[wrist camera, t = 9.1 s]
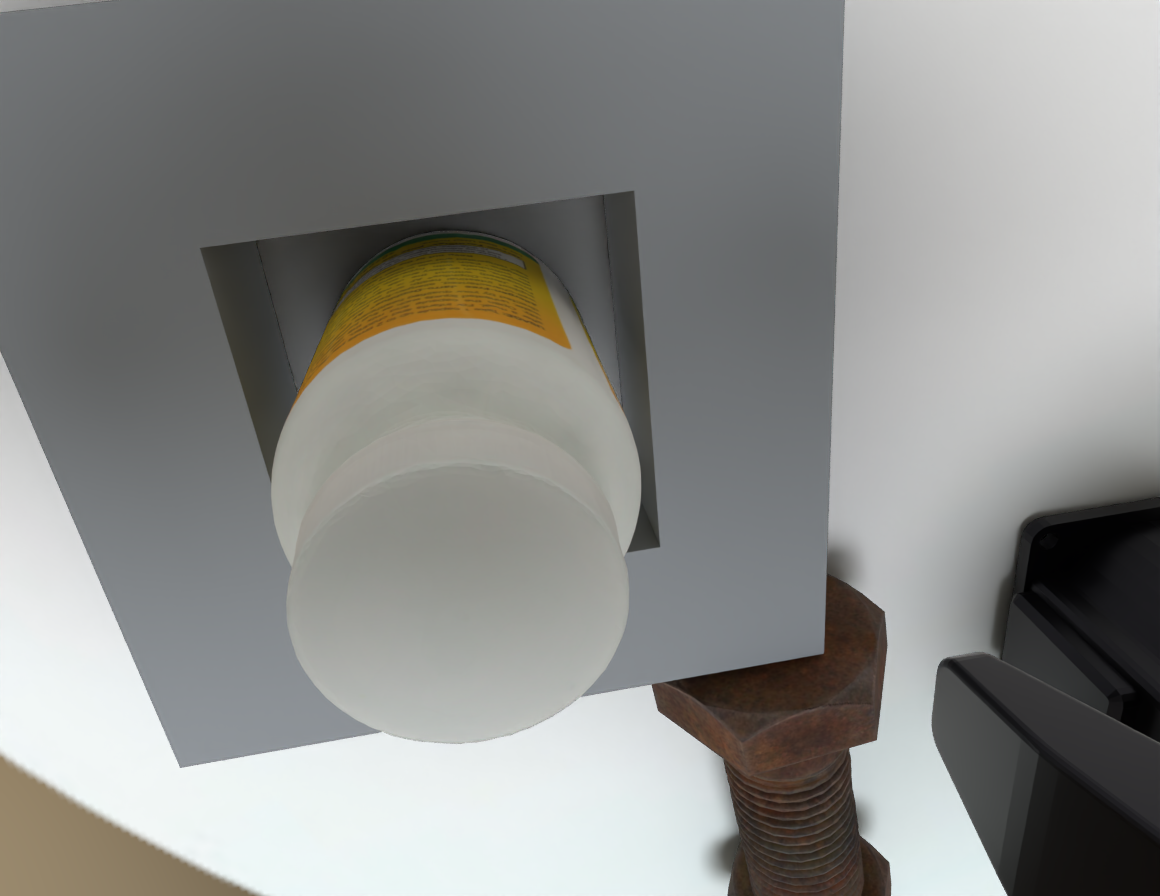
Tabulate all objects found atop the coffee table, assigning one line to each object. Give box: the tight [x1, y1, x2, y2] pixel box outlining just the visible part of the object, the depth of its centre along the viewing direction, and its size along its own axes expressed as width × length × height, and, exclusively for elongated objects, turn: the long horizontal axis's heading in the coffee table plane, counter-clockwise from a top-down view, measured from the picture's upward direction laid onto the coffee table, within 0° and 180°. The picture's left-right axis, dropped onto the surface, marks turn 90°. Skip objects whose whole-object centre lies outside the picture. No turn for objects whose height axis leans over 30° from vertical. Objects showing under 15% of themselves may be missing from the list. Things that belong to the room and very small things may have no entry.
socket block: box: [0, 0, 845, 768], centre depth 17 cm, size 14×14×4 cm
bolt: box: [652, 574, 891, 896], centre depth 24 cm, size 6×5×15 cm
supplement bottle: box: [271, 231, 641, 744], centre depth 14 cm, size 5×5×10 cm
